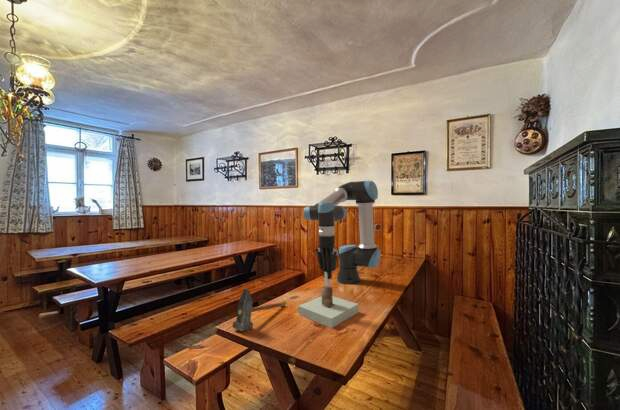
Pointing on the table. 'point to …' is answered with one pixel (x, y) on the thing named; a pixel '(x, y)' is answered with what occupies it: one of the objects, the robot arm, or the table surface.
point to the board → (328, 311)
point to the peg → (326, 296)
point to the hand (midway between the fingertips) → (327, 285)
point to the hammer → (249, 311)
